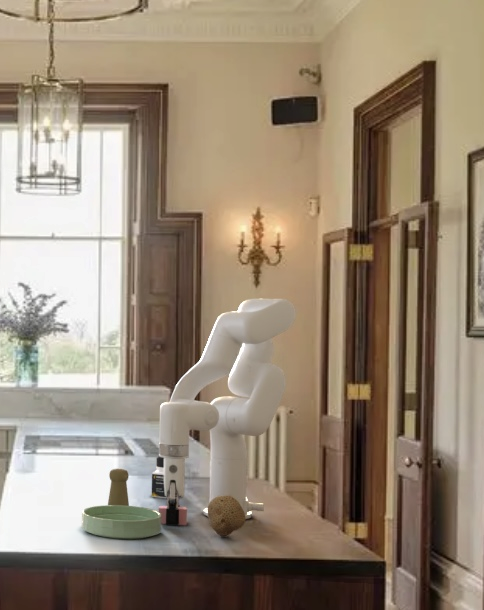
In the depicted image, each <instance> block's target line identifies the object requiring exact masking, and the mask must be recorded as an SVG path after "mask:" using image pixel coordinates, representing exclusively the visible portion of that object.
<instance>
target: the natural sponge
mask: <svg viewBox="0 0 484 610" xmlns="http://www.w3.org/2000/svg"><path fill="white" fill-rule="evenodd" d="M206 508H207V512H208V516H207V517H208V520H209V525H210V527H211V529H212V530H213V531H214V532H215V533H216V534H217V535H218V536H219V537H222V538H223V537H228V536H230V535H232V533H234V532H235V531H237V530H239V529H241V528H242V527H244V525H245V524H246V519H245V518H246V517H245V513H244V511H243V509H242V507H241V505H240V503H239V502H238V501H237V500H236V499H235V498H233V497H232V496H229V495H222V496H217V497H215V498H213V499H212V500H211V501H210V500H209V502H208V504H207V507H206Z"/></svg>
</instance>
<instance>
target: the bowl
mask: <svg viewBox="0 0 484 610" xmlns="http://www.w3.org/2000/svg"><path fill="white" fill-rule="evenodd" d="M161 519H162V514H161V513H160V512H159V510H155V509H151V508H148V507H143V506H137V505H136V506H134V505H129V506H123V505H108V504H107V505H95V506H94V505H93V506H89V507H86V508H84V509H82V512H81V528H82V530H83V531H85V532H86V533H89V534H92V535H95V536H98V537H101V538H102V537H103V538H110V539H117V540H118V539H119V540H135V539H136V540H137V539H146V538H150V537H153V536H156V535H159V534H160V533H162V524H161Z"/></svg>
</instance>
